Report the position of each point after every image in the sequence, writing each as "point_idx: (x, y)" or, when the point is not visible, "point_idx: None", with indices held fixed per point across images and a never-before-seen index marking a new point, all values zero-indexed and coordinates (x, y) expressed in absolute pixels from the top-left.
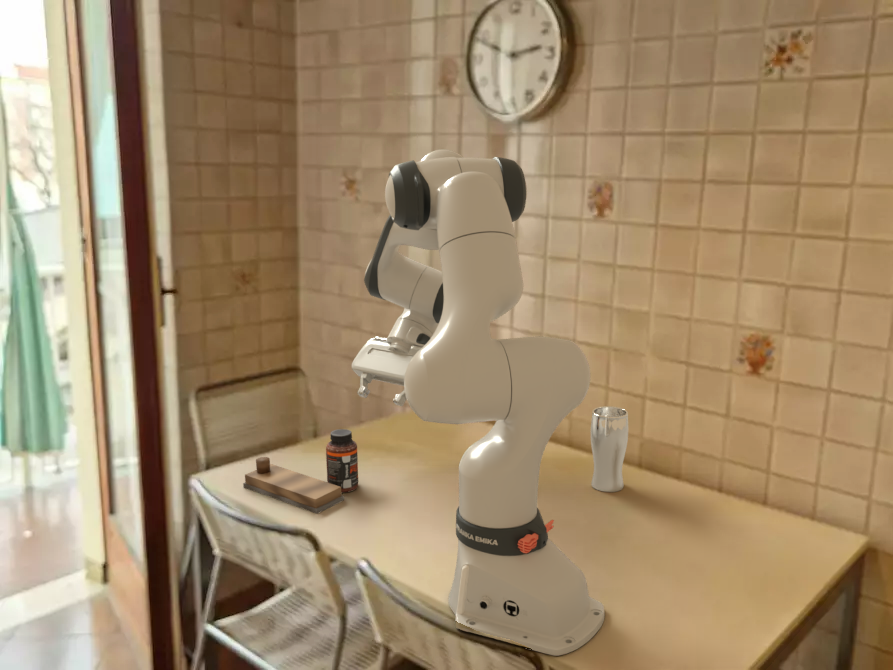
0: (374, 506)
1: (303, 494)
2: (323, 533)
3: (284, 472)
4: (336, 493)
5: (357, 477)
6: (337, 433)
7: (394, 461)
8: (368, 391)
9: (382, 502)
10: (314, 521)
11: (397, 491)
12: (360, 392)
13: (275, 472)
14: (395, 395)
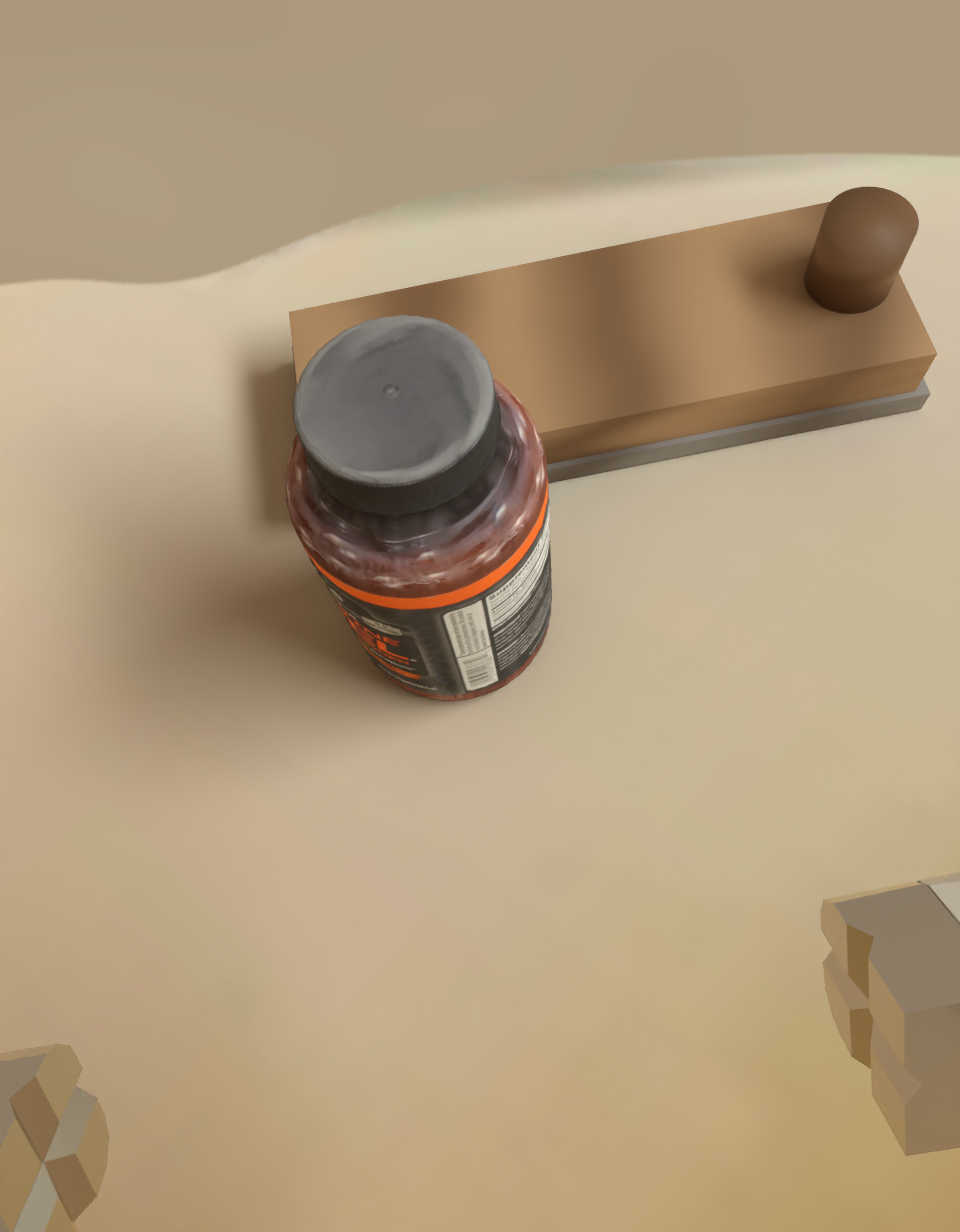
0: (128, 602)
1: (387, 297)
2: (126, 297)
3: (741, 352)
4: None
5: (361, 642)
6: (389, 356)
7: (580, 1208)
8: (883, 1087)
9: (126, 663)
10: (246, 320)
11: (157, 827)
12: (896, 892)
13: (776, 316)
14: (2, 1140)
